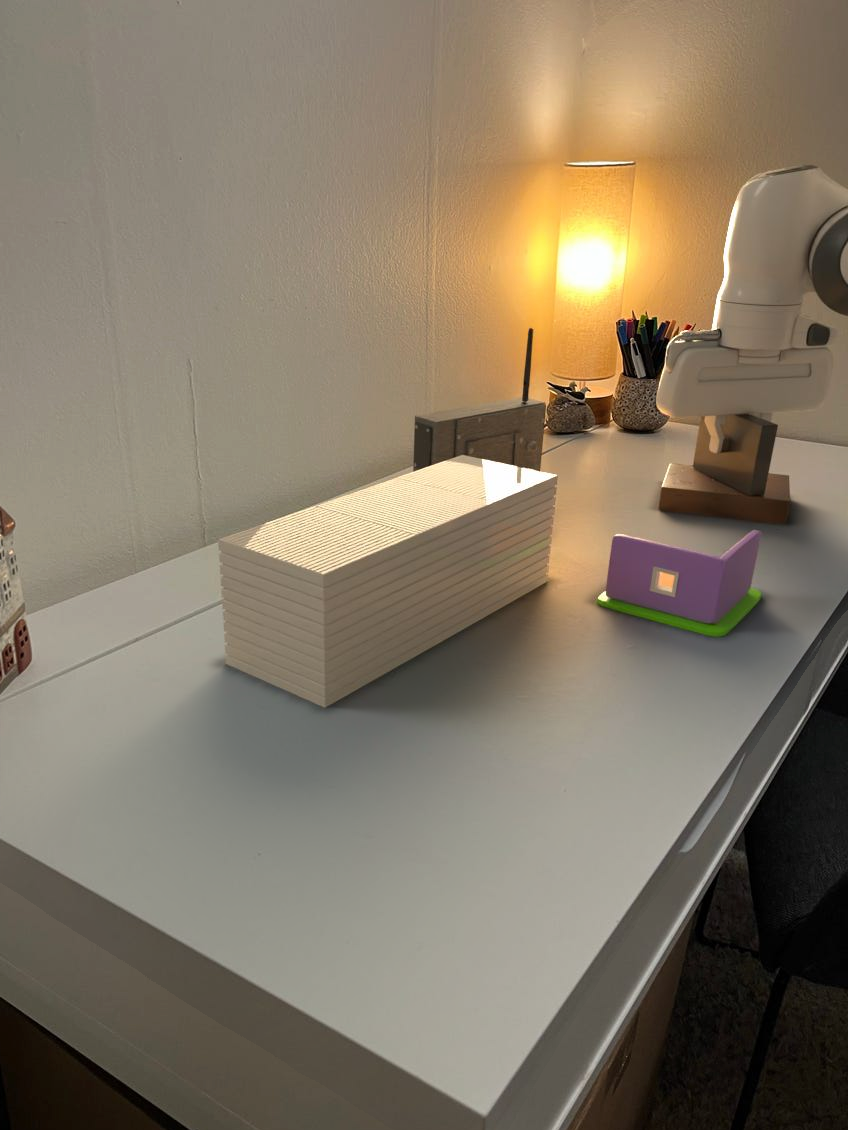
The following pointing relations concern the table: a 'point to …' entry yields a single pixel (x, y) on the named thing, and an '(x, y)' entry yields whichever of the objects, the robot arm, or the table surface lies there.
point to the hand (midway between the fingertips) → (732, 451)
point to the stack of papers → (382, 573)
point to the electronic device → (485, 430)
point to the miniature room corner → (682, 583)
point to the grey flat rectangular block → (739, 453)
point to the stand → (723, 496)
